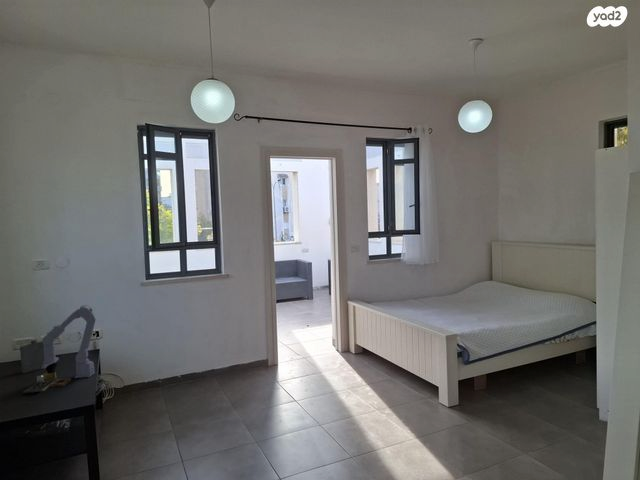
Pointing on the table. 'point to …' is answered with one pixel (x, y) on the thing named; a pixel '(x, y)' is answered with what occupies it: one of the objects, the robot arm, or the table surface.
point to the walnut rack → (60, 382)
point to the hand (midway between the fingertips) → (51, 376)
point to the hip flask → (32, 356)
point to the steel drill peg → (40, 380)
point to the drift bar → (47, 380)
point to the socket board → (44, 387)
